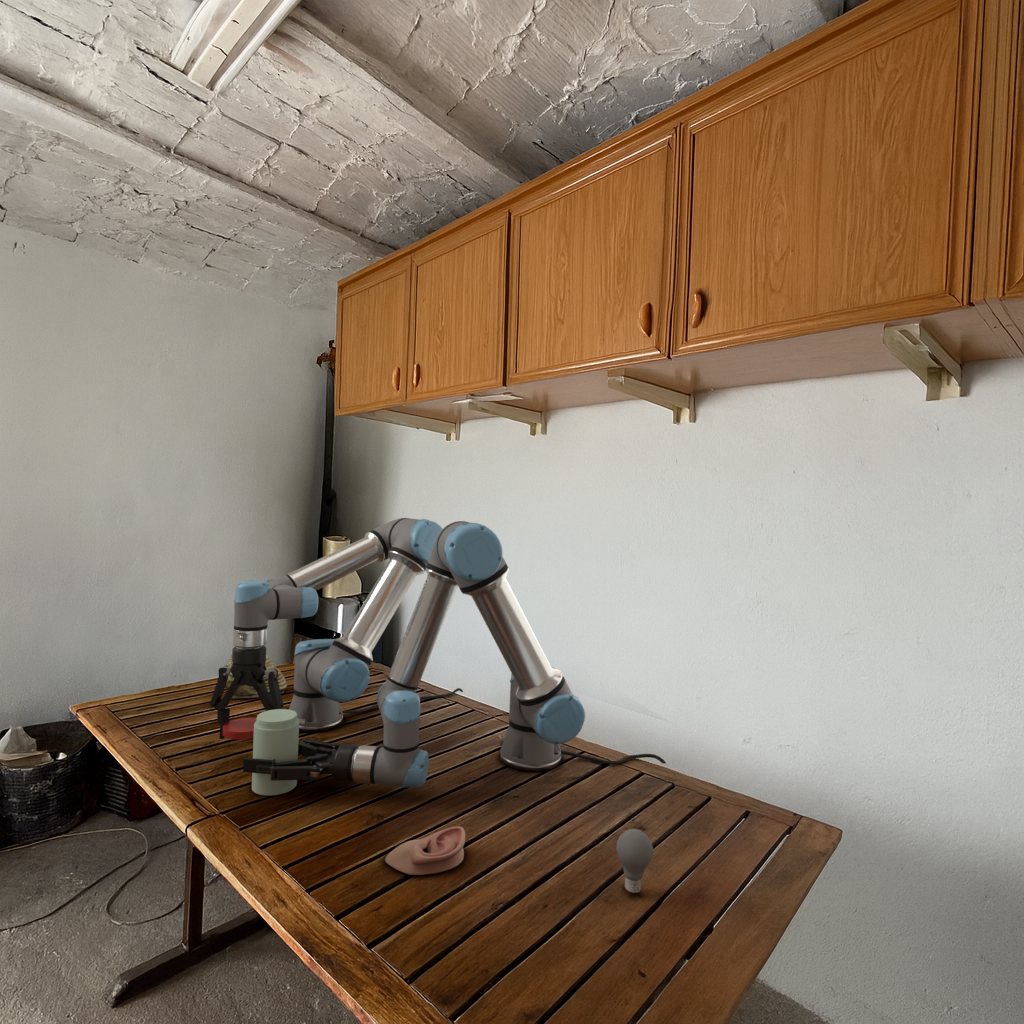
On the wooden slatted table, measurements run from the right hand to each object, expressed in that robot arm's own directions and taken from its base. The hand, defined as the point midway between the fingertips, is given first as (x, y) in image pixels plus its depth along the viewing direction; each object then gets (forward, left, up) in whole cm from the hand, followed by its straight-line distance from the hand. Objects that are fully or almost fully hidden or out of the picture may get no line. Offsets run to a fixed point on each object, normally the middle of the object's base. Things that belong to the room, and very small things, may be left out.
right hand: (255, 755), depth 138 cm
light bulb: (-61, +57, -6) cm, 83 cm away
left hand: (+3, -15, -2) cm, 15 cm away
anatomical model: (-30, +38, -6) cm, 49 cm away
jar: (-4, +2, -6) cm, 8 cm away
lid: (+3, -15, +1) cm, 15 cm away
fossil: (+3, -65, -6) cm, 65 cm away
